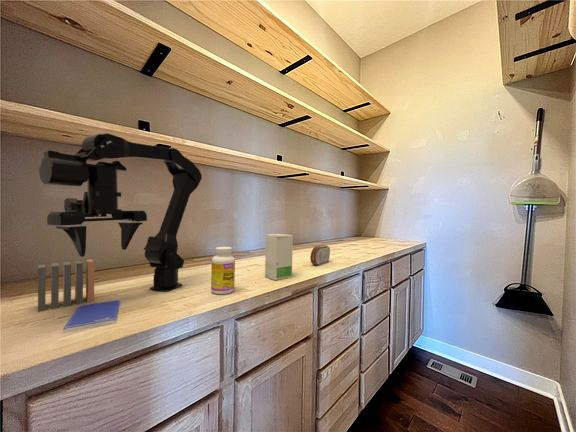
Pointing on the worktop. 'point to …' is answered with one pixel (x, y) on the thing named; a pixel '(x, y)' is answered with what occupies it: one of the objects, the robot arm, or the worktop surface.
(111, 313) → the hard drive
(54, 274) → the domino
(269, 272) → the skincare box
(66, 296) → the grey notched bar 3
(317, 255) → the tin
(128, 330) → the worktop surface
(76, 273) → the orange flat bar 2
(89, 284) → the domino
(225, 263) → the supplement bottle
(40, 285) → the domino
